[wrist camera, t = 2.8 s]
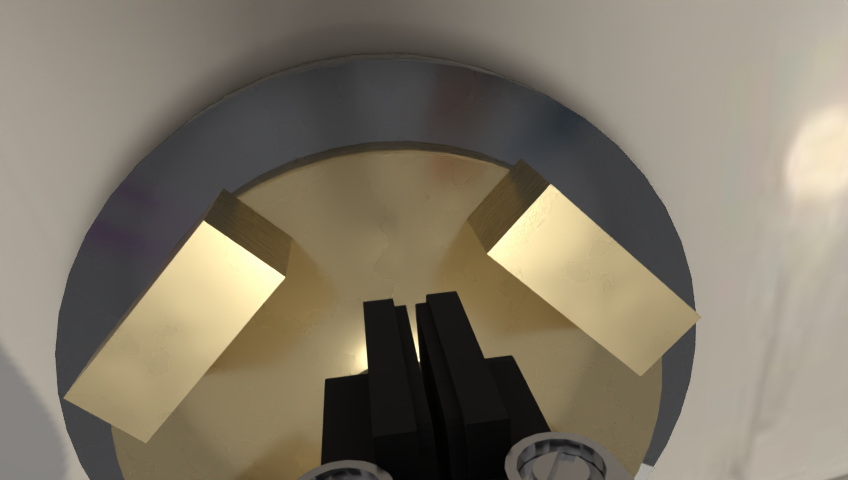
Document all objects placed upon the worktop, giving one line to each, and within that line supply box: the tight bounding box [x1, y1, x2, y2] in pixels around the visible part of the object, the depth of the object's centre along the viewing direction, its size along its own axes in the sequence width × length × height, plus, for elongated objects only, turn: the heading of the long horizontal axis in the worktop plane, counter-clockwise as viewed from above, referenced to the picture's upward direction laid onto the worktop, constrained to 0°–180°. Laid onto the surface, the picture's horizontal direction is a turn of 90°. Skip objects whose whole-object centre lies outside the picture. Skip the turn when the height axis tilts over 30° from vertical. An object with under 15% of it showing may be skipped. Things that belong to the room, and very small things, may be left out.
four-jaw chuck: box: [64, 141, 701, 480], centre depth 22 cm, size 19×19×5 cm
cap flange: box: [55, 53, 696, 480], centre depth 26 cm, size 24×24×3 cm
